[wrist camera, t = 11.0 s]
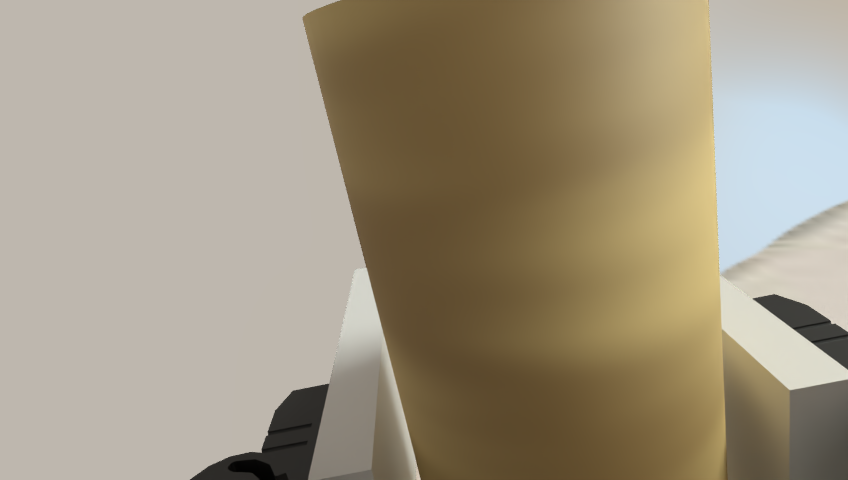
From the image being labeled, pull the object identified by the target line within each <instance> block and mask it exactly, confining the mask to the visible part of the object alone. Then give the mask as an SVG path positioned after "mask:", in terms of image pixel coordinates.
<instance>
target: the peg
mask: <svg viewBox="0 0 848 480" xmlns="http://www.w3.org/2000/svg"><path fill="white" fill-rule="evenodd" d="M303 22H304V26H305V30H306V34H307V38H308V42H309V46H310V50H311V54H312V58H313V61H314V65H315V69H316V73H317V77H318V81H319V85H320V88H321V93H322V96H323V100H324V104H325V108H326V112H327V116H328V120H329V123H330V128H331V131H332V135H333V139H334V143H335V147H336V151H337V155H338V159H339V163H340V166H341V170H342V174H343V178H344V182H345V186H346V190H347V193H348V198H349V201H350V205H351V209H352V213H353V217H354V221H355V224H356V229H357V233H358V237H359V240H360V244H361V248H362V252H363V256H364V260H365V263H366V268H367V272H368V276H369V279H370V283H371V287H372V291H373V295H374V299H375V303H376V307H377V311H378V314H379V318H380V322H381V326H382V330H383V334H384V338H385V342H386V346H387V350H388V353H389V357H390V361H391V365H392V369H393V373H394V377H395V381H396V385H397V388H398V392H399V396H400V400H401V404H402V408H403V412H404V416H405V420H406V423H407V427H408V431H409V435H410V439H411V443H412V447H413V451H414V455H415V459H416V462H417V466H418V470H419V474H420V478H421V480H728V474H727V449H726V424H725V399H724V374H723V349H722V324H721V298H720V273H719V248H718V224H717V200H716V173H715V151H714V150H715V148H714V123H713V98H712V72H711V47H710V22H709V0H340V1H337V2H335V3H332V4H329V5H326V6H324V7H321V8H319V9H316V10H314V11H312V12H310V13H307V14H306V15H305V16H304V17H303Z"/></svg>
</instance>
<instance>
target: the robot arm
mask: <svg viewBox="0 0 848 480" xmlns="http://www.w3.org/2000/svg"><path fill="white" fill-rule="evenodd" d="M720 298H721V324H722V349H723V374H724V399H725V424H726V449H727V474H728V480H848V332H847V331H845V330H844V329H842V328H841V327H839V326H838V325H836V324H831V321H830V320H829V319H827V318H826V317H824V316H823V315H821V314H820V313H818V312H817V311H815V310H814V309H812V308H811V307H809V306H808V305H805V304H802V303H799V302H796V301H793V300H790V299H787V298H784V297H781V296H778V295H775V294H773V295H768V296H763V297H758V298H753V299H752V298H751V297H749V296H748V295H746V294H745V293H744V292H742V291H741V290H740V289H738V288H737V287H736V286H734V285H733V284H732V283H730V282H729V281H728V280H726V279H725V278H724V277H722V276H721V275H720ZM190 480H416V459H415V455H414V451H413V447H412V443H411V439H410V435H409V431H408V427H407V423H406V420H405V416H404V412H403V408H402V404H401V400H400V396H399V392H398V388H397V385H396V381H395V377H394V373H393V369H392V365H391V361H390V357H389V353H388V350H387V346H386V342H385V338H384V334H383V330H382V326H381V322H380V318H379V314H378V311H377V307H376V303H375V299H374V295H373V291H372V287H371V283H370V279H369V276H368V272H367V268H361V269H356V270H355V272H354V276H353V281H352V285H351V290H350V294H349V299H348V303H347V307H346V312H345V317H344V321H343V325H342V330H341V334H340V339H339V343H338V348H337V352H336V357H335V361H334V365H333V370H332V374H331V379H330V383H329V384H325V385H320V386H315V387H310V388H305V389H300V390H295V391H292V392H291V394H290V395H289V396H288V397H287V398H286V399H285V400H284V401H283V403H282V404H281V405H280V406H279V407H278V408H277V409H276V410H275V413H274V416H273V419H272V422H271V424H270V427H269V430H268V436H266V438H265V441H264V444H263V447H262V453H256V452H249V453H244V454H240V455H235V456H231V457H228V458H226V459H224V460H222V461H219V462H217V463H215V464H213V465H211V466H208V467H207V468H206V469H205V470H203V471H202V472H200V473H199V474H197V475H196V476H194V477H193V478H192V479H190Z"/></svg>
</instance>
